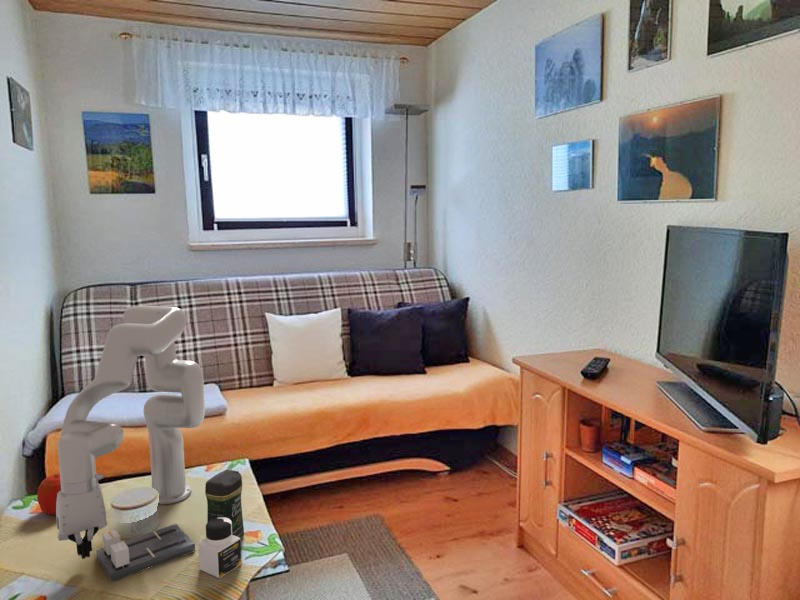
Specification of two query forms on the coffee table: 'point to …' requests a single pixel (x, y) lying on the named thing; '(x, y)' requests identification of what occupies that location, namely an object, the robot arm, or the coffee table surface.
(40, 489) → the apple
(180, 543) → the console
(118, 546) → the fader
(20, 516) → the coffee table surface
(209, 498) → the coffee jar
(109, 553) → the fader
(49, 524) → the coffee table surface
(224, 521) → the medicine bottle
